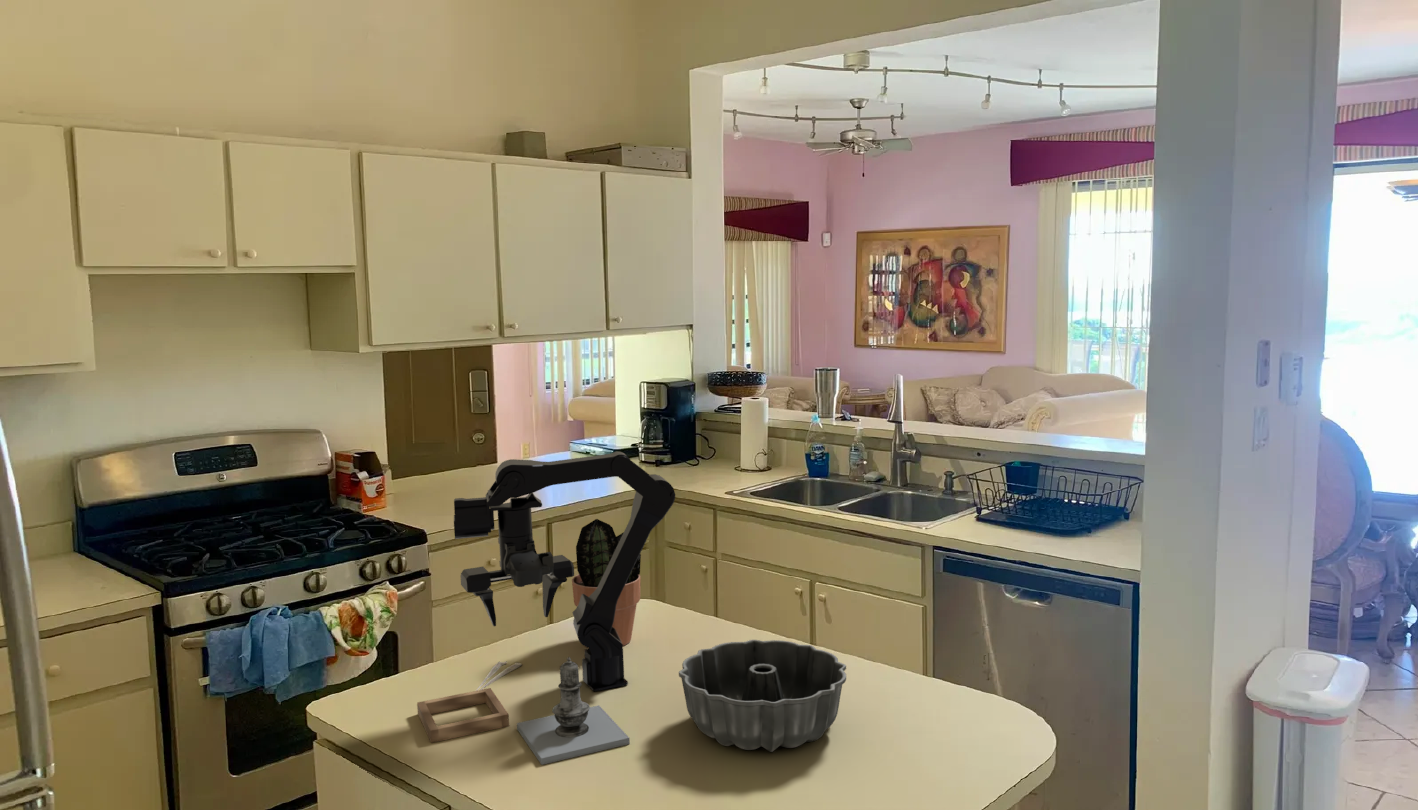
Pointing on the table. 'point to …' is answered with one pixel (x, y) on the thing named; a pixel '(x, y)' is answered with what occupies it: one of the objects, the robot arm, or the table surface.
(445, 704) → the frame
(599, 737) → the grey mat
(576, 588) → the potted plant
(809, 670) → the bundt pan
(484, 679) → the tweezers
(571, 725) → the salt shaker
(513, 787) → the table surface
